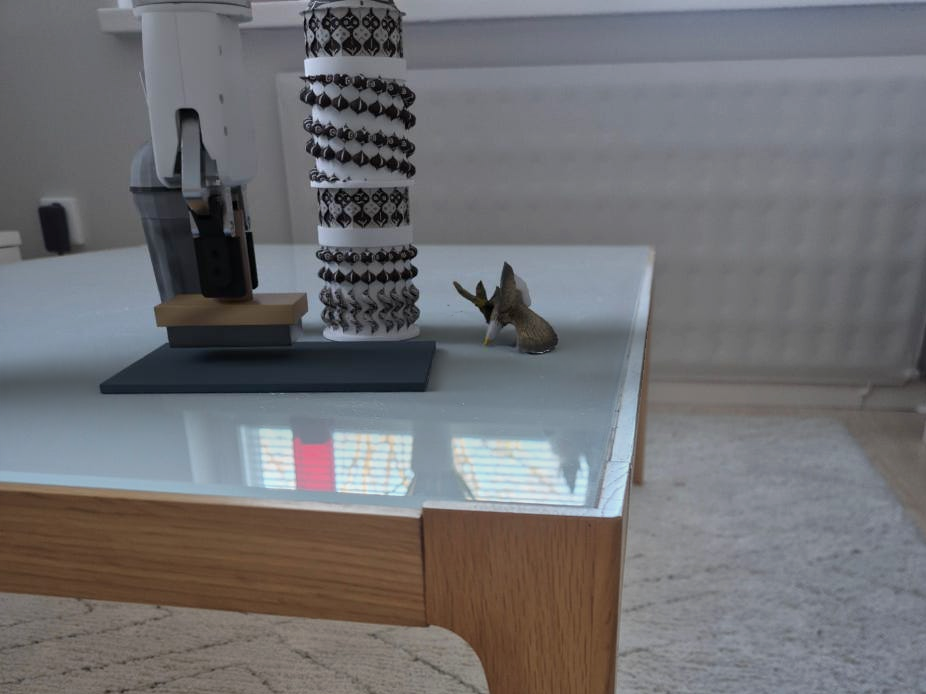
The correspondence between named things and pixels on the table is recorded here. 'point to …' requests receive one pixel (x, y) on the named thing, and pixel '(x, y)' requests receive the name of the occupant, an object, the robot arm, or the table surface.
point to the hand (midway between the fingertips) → (230, 290)
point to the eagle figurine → (512, 312)
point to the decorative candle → (361, 167)
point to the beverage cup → (164, 225)
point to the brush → (233, 314)
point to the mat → (280, 368)
